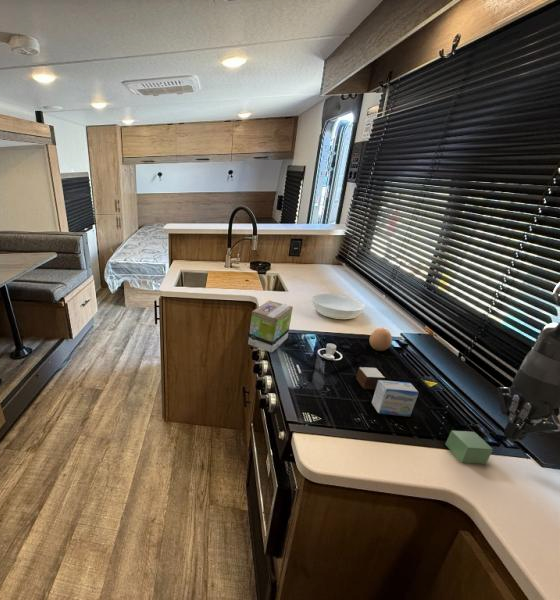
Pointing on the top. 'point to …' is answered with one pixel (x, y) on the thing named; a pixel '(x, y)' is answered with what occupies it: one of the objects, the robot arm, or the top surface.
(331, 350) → the white ring with knob
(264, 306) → the tea box
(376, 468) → the top surface
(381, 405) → the medicine box
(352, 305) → the serving bowl
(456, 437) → the sage block
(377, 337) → the egg
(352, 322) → the top surface
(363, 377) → the walnut block
